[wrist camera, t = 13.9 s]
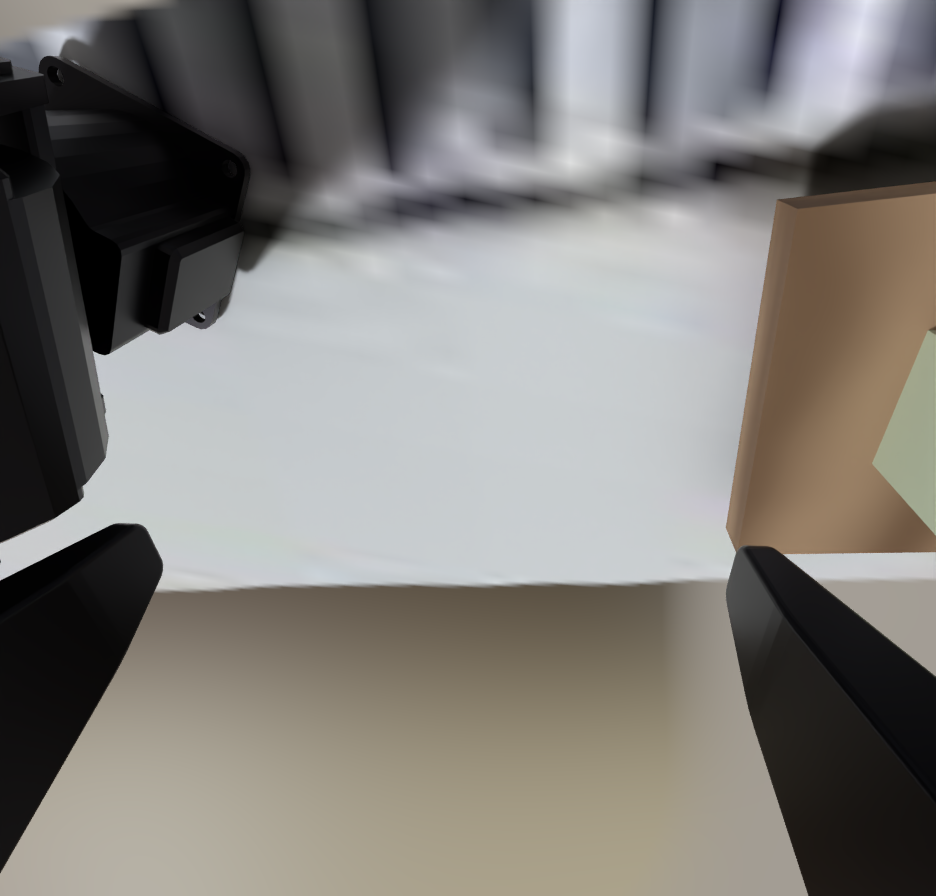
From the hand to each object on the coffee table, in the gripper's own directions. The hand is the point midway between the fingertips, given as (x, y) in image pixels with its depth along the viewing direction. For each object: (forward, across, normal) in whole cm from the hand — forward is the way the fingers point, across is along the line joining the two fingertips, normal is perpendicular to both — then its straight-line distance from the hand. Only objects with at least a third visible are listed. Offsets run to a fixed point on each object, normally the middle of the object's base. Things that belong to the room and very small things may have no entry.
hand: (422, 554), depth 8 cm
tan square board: (+13, -15, +3) cm, 20 cm away
